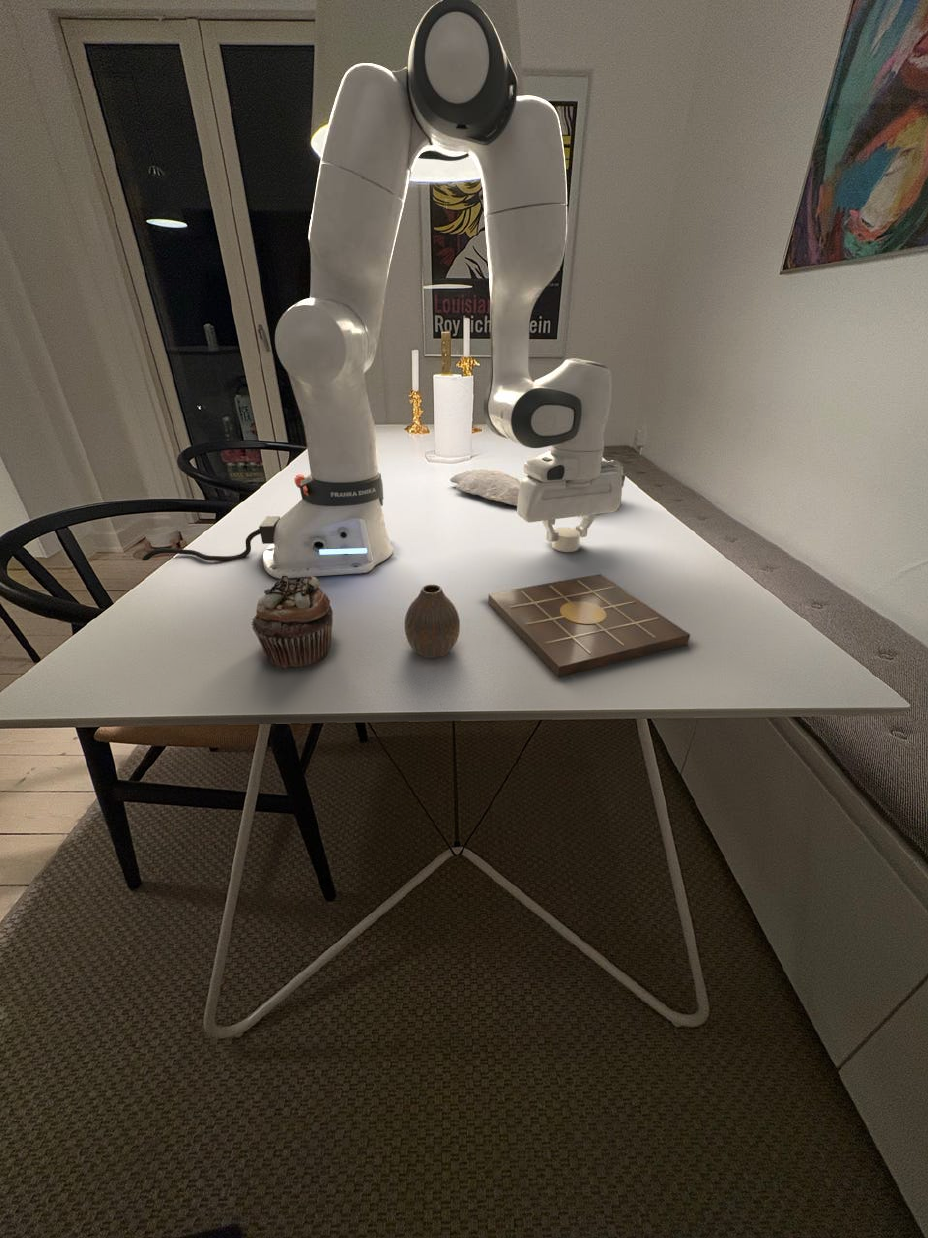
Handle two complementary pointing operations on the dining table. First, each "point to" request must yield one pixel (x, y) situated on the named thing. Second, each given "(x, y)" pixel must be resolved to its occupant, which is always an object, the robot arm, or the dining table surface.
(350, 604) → the dining table surface
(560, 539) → the game stone
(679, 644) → the board
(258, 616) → the cupcake
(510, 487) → the stone
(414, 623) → the vase
